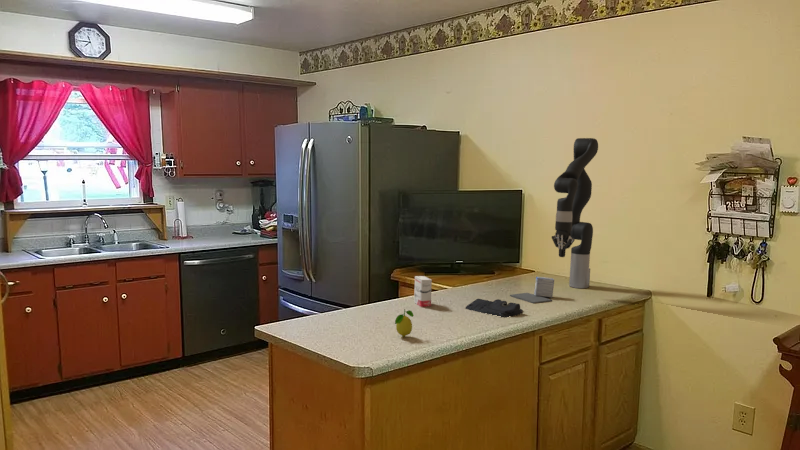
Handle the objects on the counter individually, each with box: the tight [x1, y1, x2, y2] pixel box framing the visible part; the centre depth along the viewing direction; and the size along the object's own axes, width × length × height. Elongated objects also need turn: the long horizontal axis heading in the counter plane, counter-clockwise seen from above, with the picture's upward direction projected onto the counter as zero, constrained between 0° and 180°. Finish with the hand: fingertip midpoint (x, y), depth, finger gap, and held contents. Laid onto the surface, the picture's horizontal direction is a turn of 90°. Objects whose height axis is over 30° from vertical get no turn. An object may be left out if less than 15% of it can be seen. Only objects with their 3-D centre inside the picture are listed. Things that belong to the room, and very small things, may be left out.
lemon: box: [394, 309, 414, 338], centre depth 201 cm, size 7×6×10 cm
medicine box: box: [533, 276, 555, 298], centre depth 269 cm, size 8×4×9 cm, turn 85°
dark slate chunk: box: [465, 298, 524, 318], centre depth 242 cm, size 15×22×5 cm
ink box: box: [413, 275, 433, 308], centre depth 248 cm, size 8×5×12 cm, turn 20°
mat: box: [509, 292, 553, 304], centre depth 265 cm, size 11×16×1 cm
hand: (561, 256), depth 273 cm, fingers closed
